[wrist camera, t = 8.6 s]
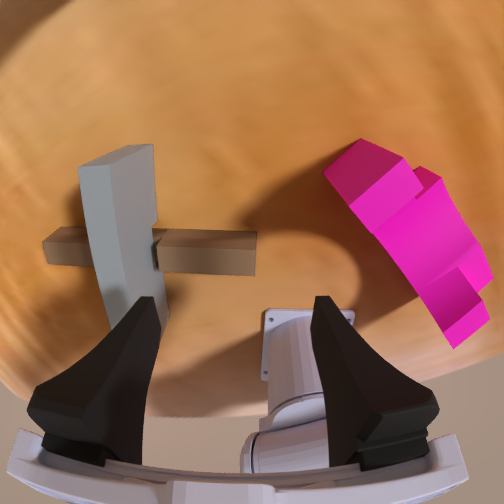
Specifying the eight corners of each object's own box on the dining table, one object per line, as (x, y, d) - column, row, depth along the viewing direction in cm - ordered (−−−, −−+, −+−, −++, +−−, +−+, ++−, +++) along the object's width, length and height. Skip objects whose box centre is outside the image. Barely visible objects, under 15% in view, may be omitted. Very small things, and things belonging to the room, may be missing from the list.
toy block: (468, 252, 24) (512, 298, 17) (419, 294, 26) (453, 349, 19) (384, 116, 19) (437, 128, 13) (321, 171, 21) (348, 206, 15)
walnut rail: (256, 231, 23) (256, 250, 21) (255, 255, 24) (254, 276, 22) (60, 226, 24) (42, 241, 21) (65, 247, 24) (47, 263, 22)
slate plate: (169, 315, 27) (148, 373, 21) (148, 313, 27) (124, 369, 21) (152, 144, 20) (109, 164, 14) (127, 145, 20) (77, 167, 14)
